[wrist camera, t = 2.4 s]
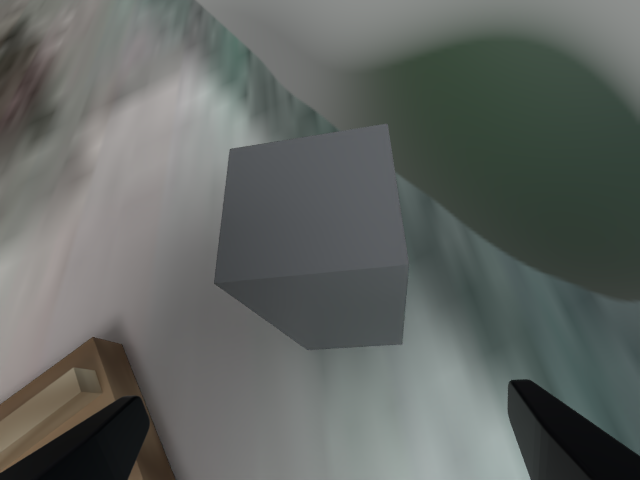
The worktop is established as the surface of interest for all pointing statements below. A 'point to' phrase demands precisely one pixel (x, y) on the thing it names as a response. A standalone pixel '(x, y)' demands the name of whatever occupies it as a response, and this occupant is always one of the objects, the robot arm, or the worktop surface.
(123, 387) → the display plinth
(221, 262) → the tall grey pillar block
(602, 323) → the worktop surface
